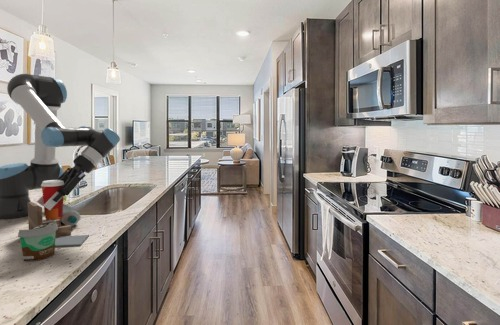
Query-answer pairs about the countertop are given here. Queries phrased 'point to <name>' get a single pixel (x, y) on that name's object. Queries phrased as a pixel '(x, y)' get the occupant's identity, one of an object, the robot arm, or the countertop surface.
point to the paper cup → (48, 191)
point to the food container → (38, 241)
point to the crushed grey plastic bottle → (69, 216)
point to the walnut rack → (37, 219)
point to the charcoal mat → (70, 240)
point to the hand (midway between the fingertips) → (43, 205)
